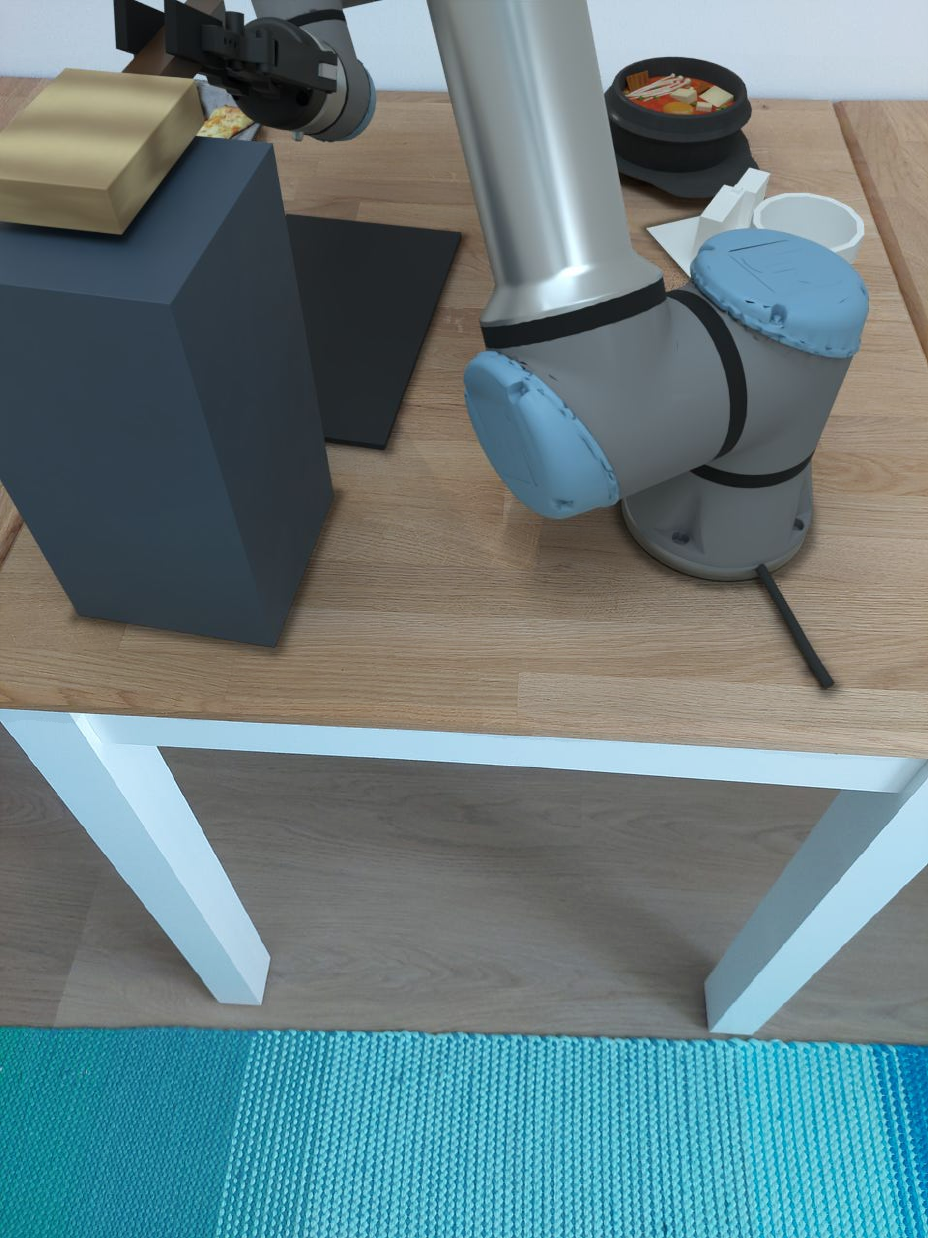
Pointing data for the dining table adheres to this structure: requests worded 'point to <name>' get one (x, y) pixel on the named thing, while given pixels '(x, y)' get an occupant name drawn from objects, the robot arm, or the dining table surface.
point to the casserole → (680, 125)
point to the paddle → (101, 140)
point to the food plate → (223, 115)
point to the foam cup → (813, 221)
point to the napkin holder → (713, 218)
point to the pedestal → (167, 403)
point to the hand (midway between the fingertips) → (145, 24)
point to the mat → (366, 316)
